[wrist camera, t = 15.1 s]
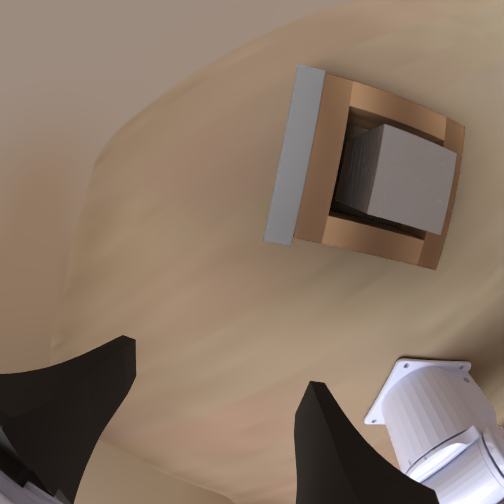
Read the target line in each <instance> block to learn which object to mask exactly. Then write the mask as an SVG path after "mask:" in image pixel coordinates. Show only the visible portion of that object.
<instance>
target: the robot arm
mask: <svg viewBox="0 0 504 504" xmlns="http://www.w3.org/2000/svg"><path fill="white" fill-rule="evenodd" d="M405 364H407V365H405ZM404 365H405V366H404ZM470 368H471V363H470V362H463V361H436V360H418V359H405V358H402V359H399V360H398V361H397V362H396V364H395V366H394V368H393V370H392V372H391V374H390V375H389V377H388V379H387V381H386V383H385V385H384V387H383V388H382V390H381V392H380V394H379V395H378V397H377V399H376V401H375V402H374V404H373V406H372V407H371V409H370V411H369V412H368V414H367V416H366V417H365V419H364V421H365V424H386V427H387V430H388V432H389V435H390V438H391V441H392V444H393V447H394V450H395V453H396V456H397V459H398V463H399V466H400V469H401V471H400V470H398V469H397V468H395V467H394V466H393V465H391V464H390V463H389V462H388V461H387V460H385V459H384V458H383V457H382V456H381V455H380V454H378V453H377V452H376V451H375V450H374V449H373V448H372V447H371V446H370V445H369V444H368V443H367V441H366V440H365V439H364V438H363V437H362V436H361V435H360V433H359V432H358V431H357V430H356V429H355V427H354V426H353V425H352V423H351V422H350V421H349V419H348V418H347V417H346V415H345V414H344V412H343V411H342V409H341V408H340V406H339V405H338V403H337V402H336V400H335V399H334V397H333V396H332V394H331V392H330V391H329V389H328V388H327V386H326V385H325V383H322V382H314V381H310V382H309V385H308V387H307V389H306V391H305V394H304V396H303V398H302V400H301V403H300V405H299V407H298V409H297V411H296V414H295V426H294V441H295V455H296V469H297V496H296V504H504V428H502V427H501V426H500V425H496V413H495V410H494V407H493V405H492V404H491V402H490V401H489V400H488V398H487V397H486V396H485V394H484V393H483V392H482V390H481V389H480V388H479V386H478V385H477V384H476V382H475V381H474V380H473V378H472V377H471V376H470V375H469V373H468V371H469V370H470ZM135 377H136V340H135V339H132V338H129V337H126V336H124V335H122V336H120V337H118V338H116V339H114V340H112V341H110V342H108V343H106V344H104V345H102V346H100V347H98V348H96V349H93V350H91V351H89V352H87V353H85V354H83V355H80V356H78V357H75V358H73V359H71V360H68V361H66V362H63V363H60V364H57V365H54V366H50V367H47V368H43V369H38V370H33V371H28V372H21V373H12V374H0V504H74V500H75V497H76V493H77V490H78V487H79V484H80V481H81V478H82V476H83V473H84V470H85V468H86V465H87V463H88V460H89V458H90V456H91V454H92V451H93V449H94V447H95V445H96V443H97V441H98V439H99V437H100V435H101V433H102V432H103V430H104V428H105V427H106V425H107V424H108V422H109V421H110V419H111V418H112V416H113V415H114V413H115V412H116V410H117V409H118V408H119V406H120V405H121V403H122V402H123V400H124V399H125V397H126V395H127V394H128V392H129V390H130V388H131V386H132V384H133V382H134V379H135Z"/></svg>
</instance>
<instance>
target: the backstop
mask: <svg viewBox="0 0 504 504" xmlns="http://www.w3.org/2000/svg"><path fill="white" fill-rule="evenodd" d="M324 76H325V70H322V69H317V68H313V67H308V66H304V65H299V64H298V68H297V73H296V79H295V84H294V89H293V94H292V99H291V105H290V110H289V115H288V120H287V125H286V130H285V135H284V140H283V146H282V151H281V156H280V161H279V166H278V171H277V176H276V181H275V186H274V191H273V196H272V201H271V206H270V210H269V215H268V220H267V225H266V230H265V235H264V240H263V241H267V242H272V243H277V244H281V245H286V246H291V243H292V238H293V234H294V230H295V225H296V221H297V216H298V211H299V207H300V202H301V197H302V193H303V188H304V183H305V178H306V173H307V168H308V163H309V158H310V153H311V148H312V143H313V138H314V133H315V127H316V122H317V116H318V111H319V105H320V100H321V94H322V88H323V82H324Z"/></svg>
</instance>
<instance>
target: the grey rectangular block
mask: <svg viewBox="0 0 504 504" xmlns="http://www.w3.org/2000/svg"><path fill="white" fill-rule="evenodd" d="M456 156H457V153H455V152H453V151H450V150H448V149H446V148H444V147H442V146H439V145H437V144H435V143H433V142H430V141H428V140H426V139H423V138H421V137H418V136H416V135H413V134H411V133H408V132H406V131H403V130H400V129H398V128H395V127H392V126H389V125H386V124H383V125H381V126H379V127H377V128H375V129H372V130H370V131H368V132H366V133H364V134H362V135H359V136H357V137H355V138H353V139H351V140H349V141H347V144H346V149H345V154H344V159H343V164H342V169H341V174H340V179H339V184H338V188H337V193H336V198H335V200H336V201H338V202H341V203H343V204H346V205H348V206H350V207H352V208H355V209H357V210H359V211H362V212H364V213H366V214H369V215H373V216H377V217H380V218H384V219H387V220H391V221H395V222H398V223H402V224H405V225H408V226H412V227H415V228H418V229H422V230H425V231H428V232H431V233H435V234H438V235H441V231H442V228H443V224H444V220H445V215H446V211H447V207H448V202H449V197H450V192H451V187H452V182H453V176H454V170H455V163H456Z"/></svg>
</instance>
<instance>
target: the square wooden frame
mask: <svg viewBox="0 0 504 504" xmlns="http://www.w3.org/2000/svg"><path fill="white" fill-rule="evenodd" d="M347 123H349V124H353V125H356V126H360V127H363V128H366V129H369V130H372V129H375V128H377V127H379V126H381V125H383V124H386V125H389V126H392V127H395V128H398V129H400V130H403V131H406V132H408V133H411V134H413V135H416V136H418V137H421V138H423V139H426V140H428V141H430V142H433V143H435V144H437V145H439V146H442V147H444V148H446V149H448V150H450V151H453V152H455V153H457V156H456V163H455V170H454V176H453V182H452V187H451V192H450V197H449V202H448V207H447V211H446V215H445V220H444V224H443V228H442V231H441V235H438V234H435V233H431V232H428V231H425V230H422V229H418V228H415V227H412V226H408V225H405V224H402V223H399V227H398V228H396V227H393V226H389V225H385V224H382V223H378V222H374V221H370V220H366V219H363V218H359V217H355V216H351V215H347V214H343V213H339V212H334V211H330V205H331V201H332V196H333V192H334V187H335V182H336V177H337V172H338V168H339V162H340V157H341V152H342V147H343V141H344V136H345V130H346V124H347ZM464 133H465V127H464V126H462V125H460V124H459V123H457V122H455V121H453V120H451V119H449V118H447V117H445V116H443V115H441V114H438V113H436V112H434V111H432V110H430V109H428V108H425V107H423V106H421V105H418V104H416V103H414V102H411V101H409V100H406V99H404V98H401V97H399V96H396V95H393V94H391V93H388V92H385V91H382V90H379V89H377V88H374V87H371V86H367V85H364V84H361V83H358V82H355V81H351V80H348V79H344V78H341V77H337V76H333V75H329V74H325V76H324V82H323V88H322V94H321V100H320V105H319V111H318V116H317V122H316V127H315V133H314V138H313V143H312V148H311V153H310V158H309V163H308V168H307V173H306V178H305V183H304V188H303V193H302V197H301V202H300V207H299V211H298V216H297V221H296V225H295V230H294V234H293V237H294V238H298V239H302V240H307V241H312V242H316V243H321V244H325V245H330V246H334V247H339V248H343V249H348V250H352V251H357V252H361V253H366V254H370V255H374V256H379V257H383V258H387V259H391V260H396V261H400V262H404V263H408V264H412V265H417V266H421V267H425V268H429V269H433V270H436V268H437V265H438V262H439V259H440V256H441V252H442V249H443V245H444V242H445V238H446V234H447V230H448V227H449V222H450V218H451V214H452V210H453V205H454V200H455V195H456V190H457V185H458V179H459V173H460V166H461V159H462V152H463V143H464Z"/></svg>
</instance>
